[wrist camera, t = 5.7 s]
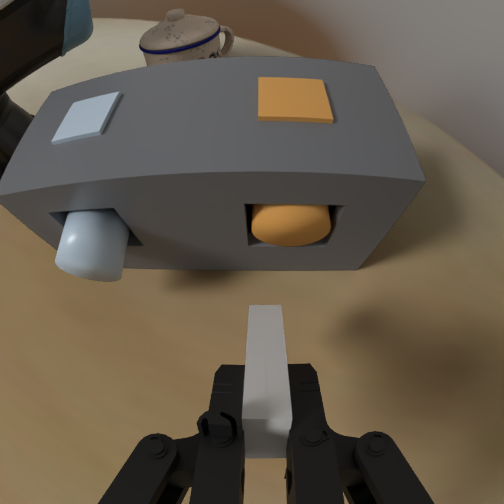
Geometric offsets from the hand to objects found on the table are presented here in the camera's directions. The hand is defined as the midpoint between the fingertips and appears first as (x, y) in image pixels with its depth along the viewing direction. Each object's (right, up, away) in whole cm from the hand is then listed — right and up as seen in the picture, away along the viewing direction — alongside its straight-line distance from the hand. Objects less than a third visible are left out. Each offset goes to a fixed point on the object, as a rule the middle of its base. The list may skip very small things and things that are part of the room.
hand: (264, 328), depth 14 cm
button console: (-4, +7, +11) cm, 14 cm away
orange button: (+2, +6, +5) cm, 8 cm away
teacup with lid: (-7, +25, +19) cm, 32 cm away
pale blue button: (-10, +3, +4) cm, 12 cm away
